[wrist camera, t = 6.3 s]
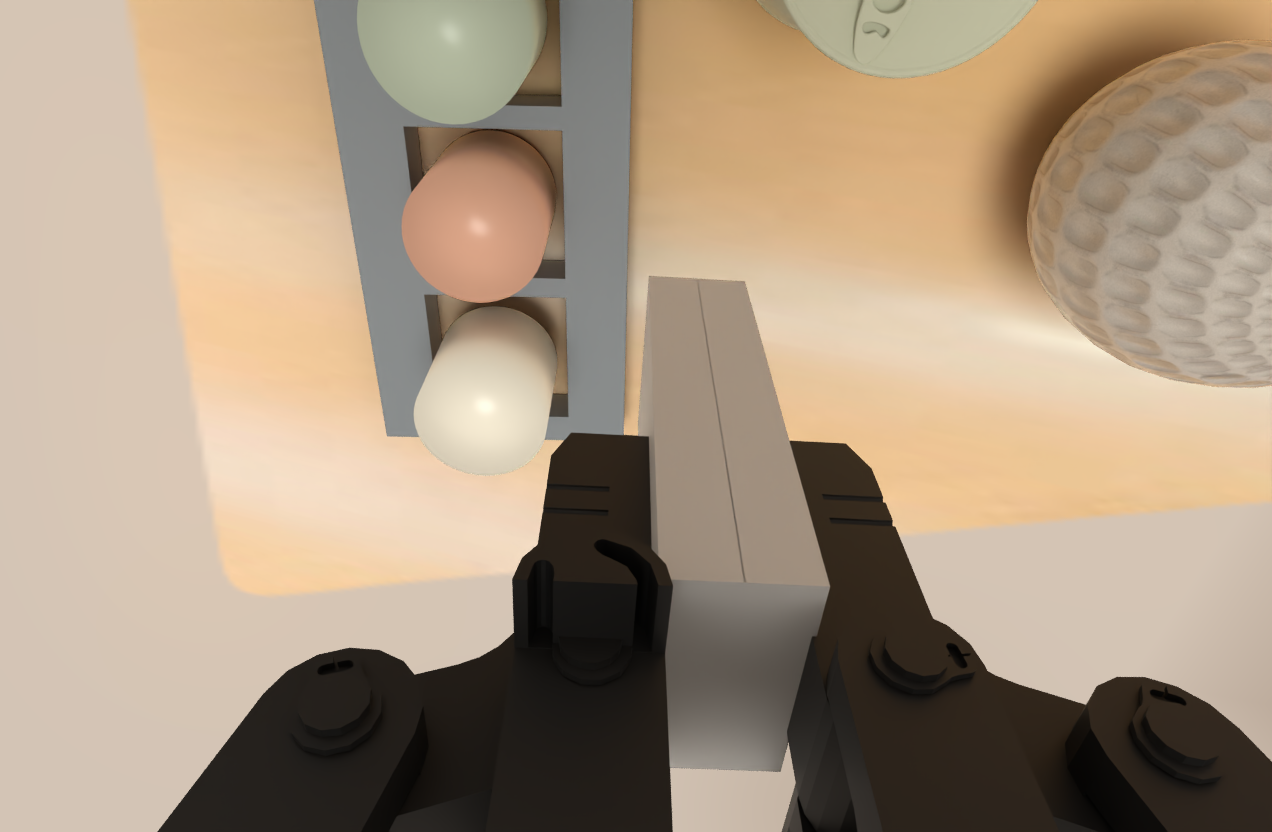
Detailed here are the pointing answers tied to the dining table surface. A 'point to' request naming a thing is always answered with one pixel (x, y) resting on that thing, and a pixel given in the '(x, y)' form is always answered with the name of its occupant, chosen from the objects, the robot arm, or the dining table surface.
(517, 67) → the pale green round piece
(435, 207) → the pink cylinder
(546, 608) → the robot arm
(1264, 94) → the vase
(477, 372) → the cream cylinder
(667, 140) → the dining table surface
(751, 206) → the dining table surface
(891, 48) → the can
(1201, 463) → the dining table surface
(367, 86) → the board
